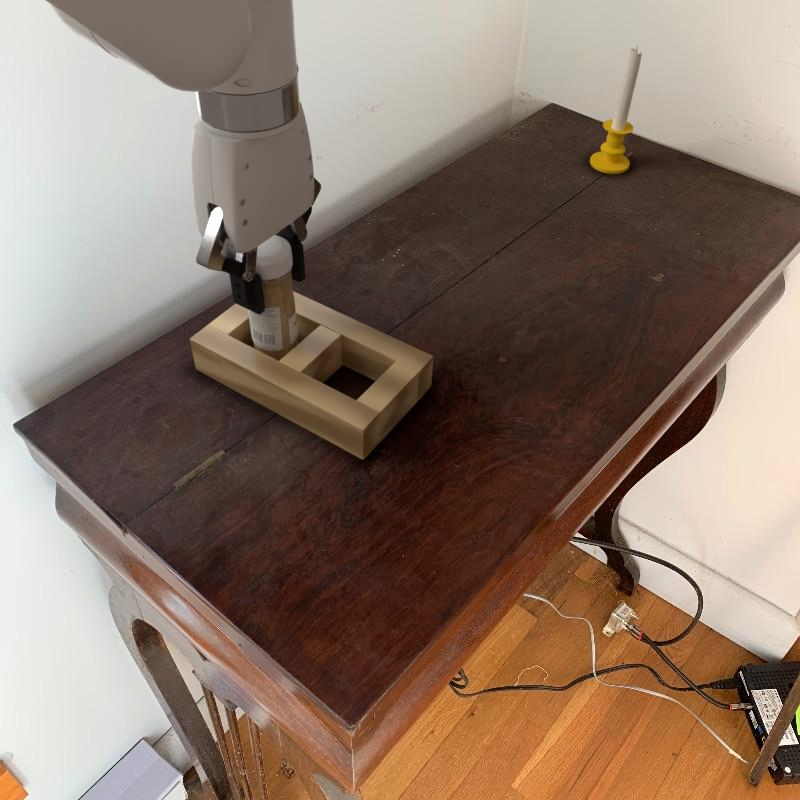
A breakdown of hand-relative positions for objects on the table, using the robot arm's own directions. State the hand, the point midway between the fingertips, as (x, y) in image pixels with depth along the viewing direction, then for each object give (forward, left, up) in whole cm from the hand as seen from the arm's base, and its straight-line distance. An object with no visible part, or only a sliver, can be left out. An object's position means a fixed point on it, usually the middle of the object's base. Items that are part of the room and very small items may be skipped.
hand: (270, 289), depth 73 cm
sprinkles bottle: (0, 0, -9) cm, 9 cm away
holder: (0, -4, -9) cm, 10 cm away
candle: (+55, -11, -9) cm, 57 cm away
